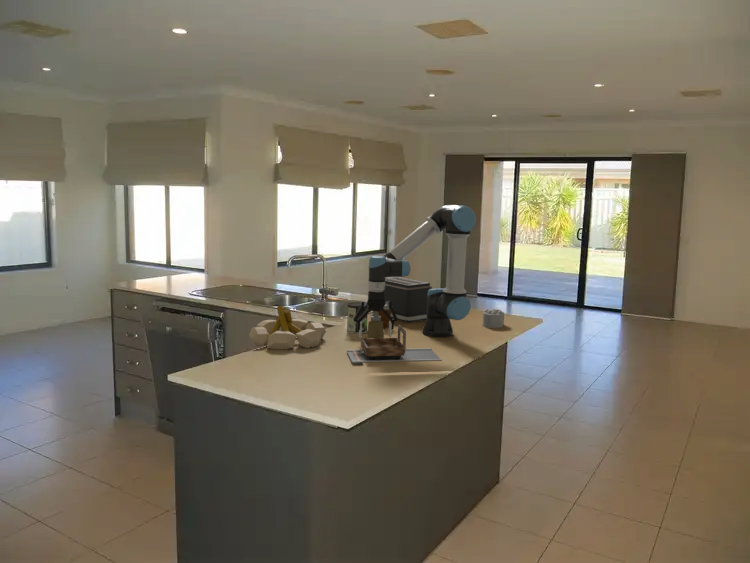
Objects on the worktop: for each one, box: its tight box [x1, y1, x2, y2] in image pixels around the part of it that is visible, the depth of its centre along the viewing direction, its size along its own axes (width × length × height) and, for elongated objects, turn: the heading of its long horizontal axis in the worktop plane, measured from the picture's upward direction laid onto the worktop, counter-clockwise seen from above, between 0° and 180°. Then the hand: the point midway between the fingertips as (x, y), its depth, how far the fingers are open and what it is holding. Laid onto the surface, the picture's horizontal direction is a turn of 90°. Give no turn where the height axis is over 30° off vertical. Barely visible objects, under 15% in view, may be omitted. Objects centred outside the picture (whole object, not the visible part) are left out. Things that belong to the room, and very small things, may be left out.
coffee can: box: [346, 301, 369, 335], centre depth 313 cm, size 10×10×14 cm
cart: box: [360, 324, 407, 360], centre depth 266 cm, size 17×16×12 cm
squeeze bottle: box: [366, 311, 385, 338], centre depth 284 cm, size 8×8×18 cm
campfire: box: [249, 305, 327, 350], centre depth 291 cm, size 35×34×17 cm
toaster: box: [372, 277, 433, 324], centre depth 354 cm, size 19×35×20 cm, turn 40°
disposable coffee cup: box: [378, 304, 391, 329], centre depth 326 cm, size 10×10×12 cm
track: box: [346, 347, 443, 365], centre depth 268 cm, size 38×18×1 cm, turn 100°
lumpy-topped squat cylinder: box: [482, 308, 505, 329], centre depth 335 cm, size 10×13×9 cm
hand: (375, 336), depth 284 cm, fingers open, 13 cm apart
